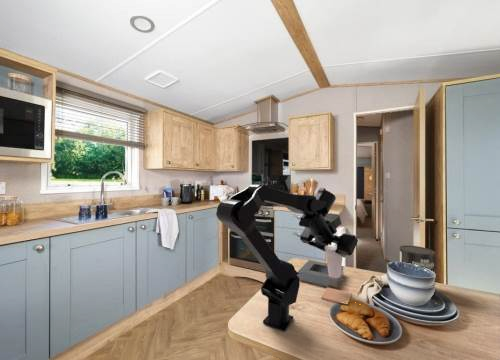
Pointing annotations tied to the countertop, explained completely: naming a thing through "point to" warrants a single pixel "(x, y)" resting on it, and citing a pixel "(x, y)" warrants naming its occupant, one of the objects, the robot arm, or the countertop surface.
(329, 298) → the tile
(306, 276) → the socket block
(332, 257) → the smoothie
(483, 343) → the countertop surface
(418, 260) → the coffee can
